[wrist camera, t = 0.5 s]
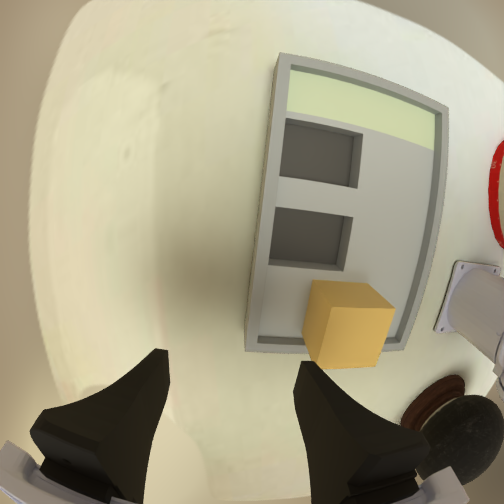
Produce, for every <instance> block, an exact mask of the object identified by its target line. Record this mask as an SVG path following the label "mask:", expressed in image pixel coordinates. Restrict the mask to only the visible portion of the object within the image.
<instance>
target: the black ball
mask: <svg viewBox="0 0 504 504" xmlns="http://www.w3.org/2000/svg"><path fill="white" fill-rule="evenodd" d="M464 387H465V383H464V380H463V379H462V378H461V377H460V376H459V375H449V376H446V377H444V378H442V379H440V380H438V381H436V382H435V383H434V384H432V385H431V386H429V387H428V388H427V389H426V390H424V391H423V392H422V393H421V394H420V395H419V396H418V397H417V398H416V399H415V400H414V401H413V402H412V403H411V404H410V406H409V407H408V408H407V410H406V411H405V413H404V414H403V416H402V419H401V423H400V424H401V426H402V427H405V428H408V429H412V430H415V431H418V432H422V433H423V435H424V436H425V438H426V440H427V441H428V443H429V445H430V451H429V453H428V455H427V456H426V458H425V459H424V460H423V461H422V462H421V463H420V464H419V465H418V466H417V467H416V471H417V473H418V474H419V475H420V477H421V478H422V479H423V480H425V479H427V478H428V477H429V476H431V475H432V474H434V473H436V472H438V471H441V470H443V469H445V468H447V467H449V466H451V468H452V470H453V471H454V473H455V475H456V476H457V478H458V480H459V481H460V483H461V485H465V484H467V483H469V482H471V481H473V480H474V479H475V478H477V477H478V476H480V475H481V474H482V473H483V472H484V471H485V470H486V469H487V468H488V467H489V466H490V465H491V463H492V462H493V461H494V459H495V458H496V456H497V454H498V452H499V450H500V448H501V445H502V442H503V438H504V419H503V416H502V413H501V411H500V409H499V408H498V406H497V405H496V404H495V403H494V402H493V401H491V400H490V399H488V398H486V397H483V396H479V395H464V393H465V388H464Z"/></svg>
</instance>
